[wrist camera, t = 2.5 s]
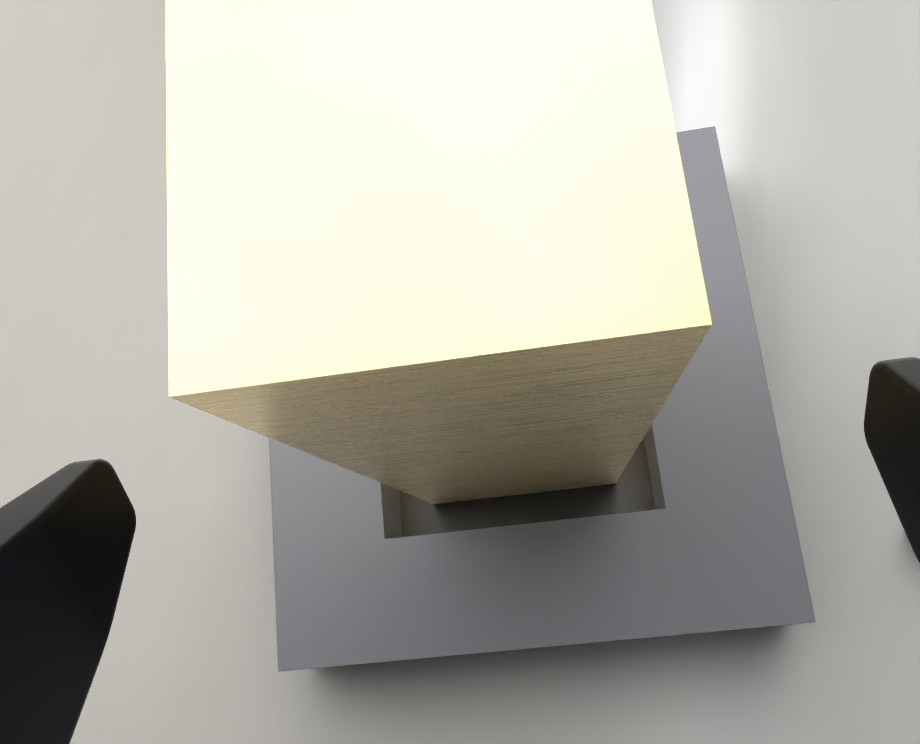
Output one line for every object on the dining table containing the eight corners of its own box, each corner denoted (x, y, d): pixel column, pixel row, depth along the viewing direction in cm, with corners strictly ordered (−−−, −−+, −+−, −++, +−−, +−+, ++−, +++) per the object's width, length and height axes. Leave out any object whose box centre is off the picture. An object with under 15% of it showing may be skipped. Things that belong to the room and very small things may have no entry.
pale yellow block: (615, 483, 19) (713, 323, 6) (433, 504, 19) (169, 397, 6) (589, 307, 20) (624, -138, 7) (417, 331, 20) (164, -47, 8)
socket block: (788, 615, 17) (815, 621, 15) (309, 660, 19) (278, 671, 17) (701, 168, 20) (715, 126, 18) (287, 232, 21) (259, 199, 19)
